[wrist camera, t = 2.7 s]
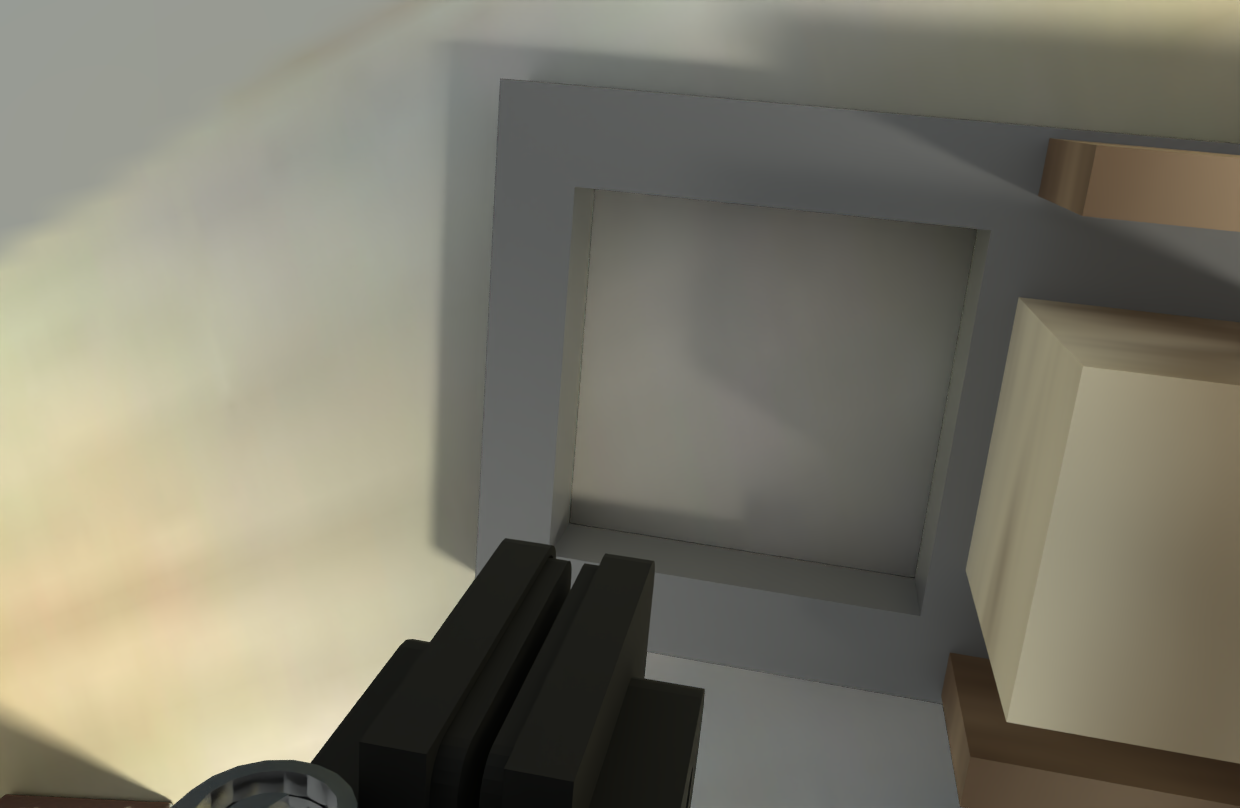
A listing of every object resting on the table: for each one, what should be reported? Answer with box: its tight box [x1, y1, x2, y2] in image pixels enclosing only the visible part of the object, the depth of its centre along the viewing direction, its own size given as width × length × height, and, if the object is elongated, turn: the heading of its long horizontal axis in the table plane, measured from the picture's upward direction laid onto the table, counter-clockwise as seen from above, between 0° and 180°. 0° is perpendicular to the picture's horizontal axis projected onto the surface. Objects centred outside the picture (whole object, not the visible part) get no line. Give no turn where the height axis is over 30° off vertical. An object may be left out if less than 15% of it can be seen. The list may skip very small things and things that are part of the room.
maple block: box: [966, 297, 1240, 764], centre depth 19 cm, size 6×6×6 cm
